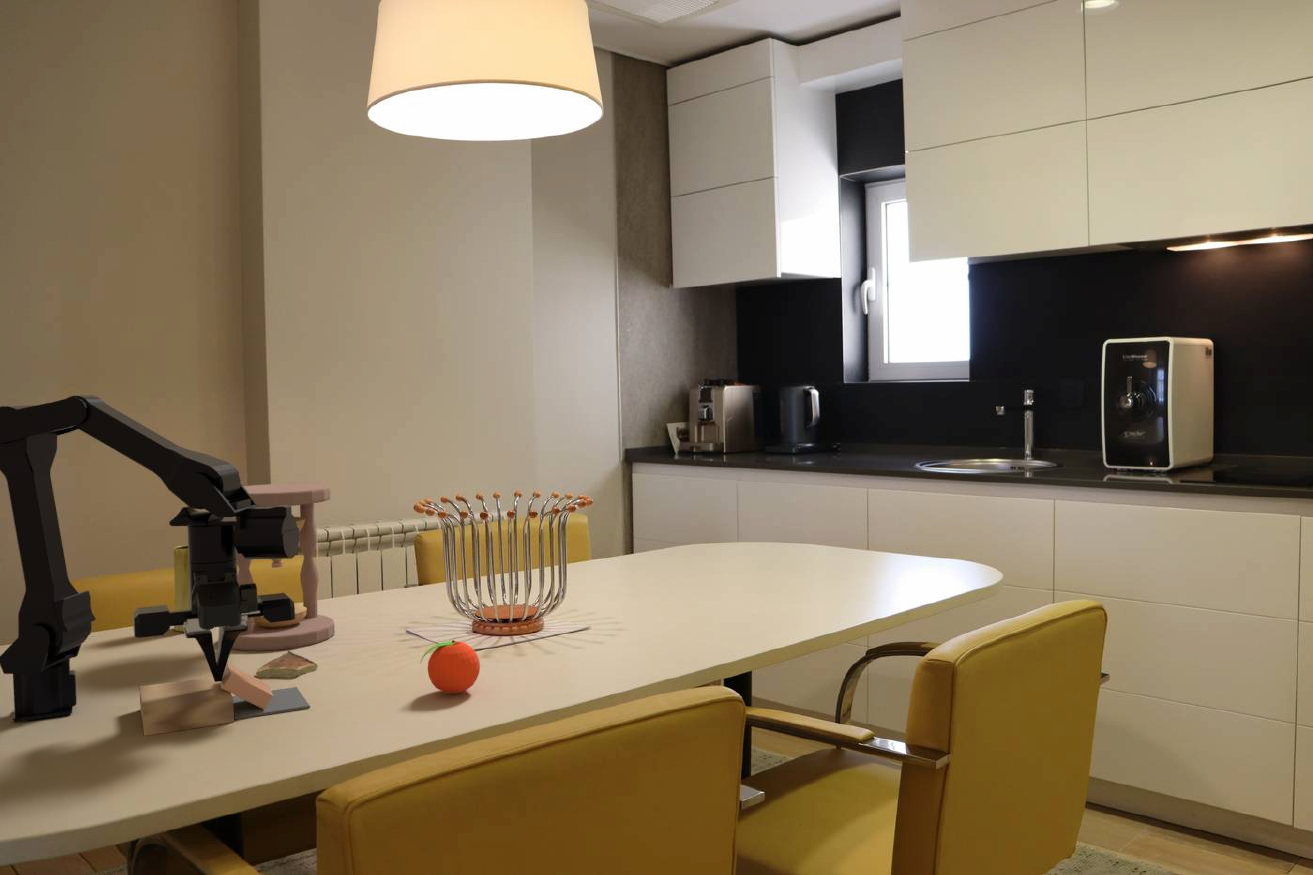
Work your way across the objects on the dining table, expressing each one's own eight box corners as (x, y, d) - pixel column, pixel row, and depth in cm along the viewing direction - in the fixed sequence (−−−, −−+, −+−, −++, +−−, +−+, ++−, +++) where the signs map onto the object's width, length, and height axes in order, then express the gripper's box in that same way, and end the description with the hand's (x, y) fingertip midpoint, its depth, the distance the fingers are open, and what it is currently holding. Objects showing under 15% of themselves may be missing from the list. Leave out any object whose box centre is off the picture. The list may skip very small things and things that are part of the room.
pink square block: (221, 688, 132) (231, 674, 133) (218, 677, 138) (227, 663, 138) (264, 709, 135) (273, 695, 135) (259, 697, 140) (267, 684, 140)
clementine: (426, 704, 137) (424, 650, 137) (415, 690, 143) (414, 638, 143) (486, 696, 140) (485, 643, 140) (473, 683, 146) (472, 632, 146)
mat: (235, 719, 132) (235, 717, 132) (226, 699, 141) (226, 696, 141) (309, 708, 136) (309, 705, 136) (296, 689, 145) (296, 686, 145)
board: (144, 735, 126) (143, 710, 126) (140, 709, 137) (139, 686, 136) (234, 722, 131) (233, 698, 131) (223, 697, 141) (222, 675, 141)
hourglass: (254, 657, 163) (248, 495, 162) (203, 640, 175) (198, 489, 173) (355, 636, 176) (350, 486, 175) (301, 621, 188) (297, 481, 186)
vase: (167, 628, 183) (164, 547, 183) (202, 622, 188) (199, 542, 187) (182, 633, 179) (179, 550, 179) (218, 627, 184) (215, 546, 183)
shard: (288, 660, 162) (288, 649, 162) (336, 661, 161) (336, 649, 161) (253, 680, 151) (253, 668, 151) (304, 681, 151) (304, 668, 150)
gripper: (133, 576, 123) (139, 708, 124) (300, 561, 132) (304, 685, 132) (130, 563, 133) (135, 686, 134) (285, 550, 142) (290, 665, 142)
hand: (217, 680), depth 135 cm, fingers closed
